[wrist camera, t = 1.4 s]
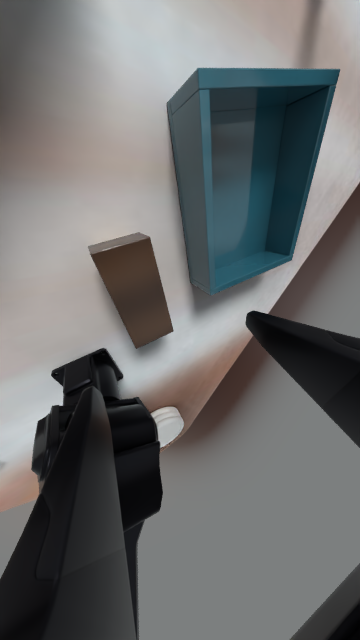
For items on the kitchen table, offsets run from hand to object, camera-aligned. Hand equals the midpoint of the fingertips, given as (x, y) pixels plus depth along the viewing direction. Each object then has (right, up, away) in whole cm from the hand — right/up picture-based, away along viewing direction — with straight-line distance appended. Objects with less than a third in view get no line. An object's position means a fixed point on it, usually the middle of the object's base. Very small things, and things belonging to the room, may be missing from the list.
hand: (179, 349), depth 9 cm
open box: (+6, +15, +11) cm, 20 cm away
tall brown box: (-6, +6, +10) cm, 13 cm away
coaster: (-5, -21, +29) cm, 36 cm away
